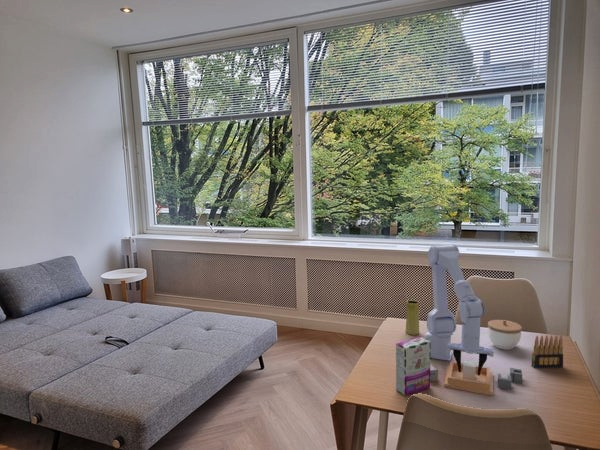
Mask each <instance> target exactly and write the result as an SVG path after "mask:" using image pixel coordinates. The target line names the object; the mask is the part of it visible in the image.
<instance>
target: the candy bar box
mask: <svg viewBox="0 0 600 450" xmlns="http://www.w3.org/2000/svg"><path fill="white" fill-rule="evenodd" d="M430 349H431V341H429V340H426V338H425V337H421V336H419V337H415V338H412V339H408V340H404V341H400V342H398V343H397V342H396V343H395V377H396V378H395V386H396V387H395V390H396V391H397V392H399V393H400V394H402V395H403V396H404V397H407V396H410V395H413V394H415V393H419V392H421V391H424V390H427V389H430V388H431V381H430V364H431V358H430Z"/></svg>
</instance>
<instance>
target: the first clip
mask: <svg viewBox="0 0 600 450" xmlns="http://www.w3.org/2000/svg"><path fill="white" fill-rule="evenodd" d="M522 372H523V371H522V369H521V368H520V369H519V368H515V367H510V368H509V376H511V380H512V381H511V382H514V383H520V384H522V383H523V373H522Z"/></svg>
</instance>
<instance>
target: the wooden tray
mask: <svg viewBox="0 0 600 450" xmlns="http://www.w3.org/2000/svg"><path fill="white" fill-rule="evenodd" d="M493 376H494V375H493V371H491V367H488V366H483V367H482V369H481V372H480V376H479V375H478V365H477V364H476V374H475V381H474V380H468V379H463V362H461V372H459V370H458V365H457V362H456V361H452V360H450V363H449V364H447V367H446V372H445V378H444V381H443V382H444V384H443V387H444V388H449V389H450V388H451V389H457V390H460V391H468V392H471V393H476V394H483V395H487V396H488V395H489V396H494V377H493Z"/></svg>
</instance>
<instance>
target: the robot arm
mask: <svg viewBox="0 0 600 450" xmlns="http://www.w3.org/2000/svg"><path fill="white" fill-rule="evenodd" d="M427 253H428V254H427V255H428V256H427V257H428V265H429V267H431V273H432V274H431V275H432V290H433V292H432V295H433V306H434V307H433V309H432V310H431V311H430V312H428V313H427V320H426V328H427V329H426V330H427V332H425V333H426V334H425V339H426V340H429V341H431V349H430V359H435V360H443V361H449V362H451V361H452V355H453V357H454V359H455V362H457V365H458V370H459V372H461V363H462V352H463V353H466V354H470V355H473V354H475V355H476V354H477V355H478V365H477V366H478V375H479V376H480V372H481V369H482V367H484V364H485V363H486V362H487V361H488V356H489V357H490V358H493V357H494V349H493V348H488V347H485V346H481V345H480V341H481V339H480V337H481V335H480V334H481V317H483V316H484V315H485V312H486V311H485V306H484V302H483V301H482V300H481V299H480V298H479V297H478V296H476V295H475V292H474V290H473V288H472V285H471V283H470V282H469V281H468V280H465V277H464V274H463V273H464V272H463V271H462V267H461V265H460V262H459V260H460V257H461V256H460V250H459V247H458V246H457V245H456V244H447V245H445V244H444V245H431V246H430V247H429V249H428V251H427ZM447 271H448V273H449V275H450V278H451V279H452V280H453V282H454V286H453V290H454V292H455V295H456V297H457V300H458V302H459V306H458V311H459V315H460V321H461V343H460V342H459V343H453V342H452V343H451V341H452V336H453V333H455V331H456V330H457V322H456V319H455V314H454V312H452V311H451V310H449V305H448V303H449V302H448V288H447Z"/></svg>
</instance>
